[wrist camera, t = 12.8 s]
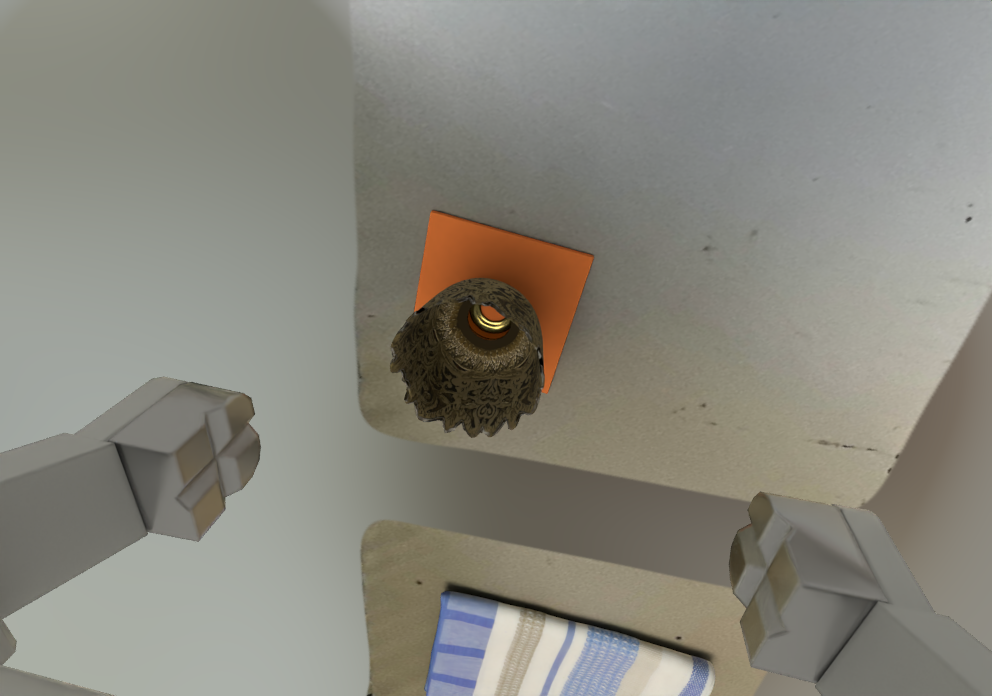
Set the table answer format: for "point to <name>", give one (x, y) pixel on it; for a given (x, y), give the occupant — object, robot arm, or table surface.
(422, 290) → the orange square board
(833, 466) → the table surface
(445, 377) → the brown ornate vase
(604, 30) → the table surface
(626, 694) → the dish towel
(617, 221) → the table surface
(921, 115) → the table surface
